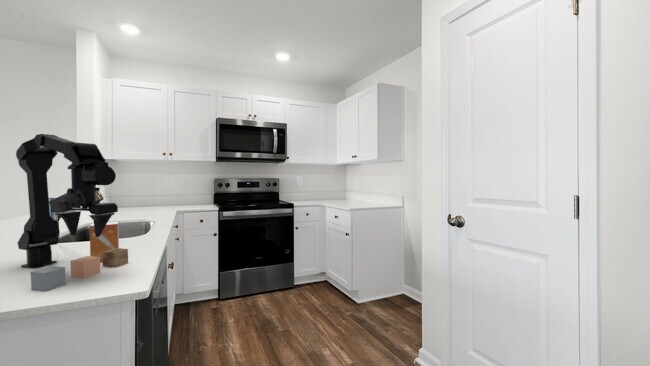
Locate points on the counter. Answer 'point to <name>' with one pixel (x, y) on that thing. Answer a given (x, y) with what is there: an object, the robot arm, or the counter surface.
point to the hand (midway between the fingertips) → (85, 236)
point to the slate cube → (48, 278)
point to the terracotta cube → (85, 267)
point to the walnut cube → (115, 257)
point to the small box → (104, 239)
